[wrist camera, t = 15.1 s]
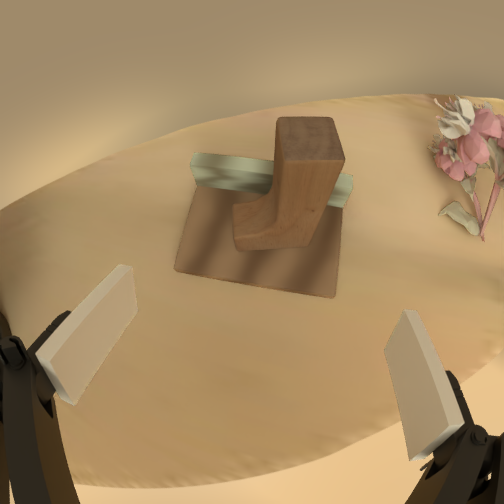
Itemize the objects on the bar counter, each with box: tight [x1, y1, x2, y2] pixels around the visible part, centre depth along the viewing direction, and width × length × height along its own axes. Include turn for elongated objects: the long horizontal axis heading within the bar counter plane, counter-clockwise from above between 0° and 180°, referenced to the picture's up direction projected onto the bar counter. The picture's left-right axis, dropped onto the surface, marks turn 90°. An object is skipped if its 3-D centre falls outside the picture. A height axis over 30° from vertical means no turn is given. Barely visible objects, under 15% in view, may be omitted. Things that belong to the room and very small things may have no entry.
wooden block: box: [232, 117, 345, 251], centre depth 27 cm, size 9×4×18 cm, turn 94°
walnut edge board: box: [174, 153, 353, 298], centre depth 34 cm, size 20×14×6 cm
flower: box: [428, 94, 504, 242], centre depth 30 cm, size 20×22×25 cm
